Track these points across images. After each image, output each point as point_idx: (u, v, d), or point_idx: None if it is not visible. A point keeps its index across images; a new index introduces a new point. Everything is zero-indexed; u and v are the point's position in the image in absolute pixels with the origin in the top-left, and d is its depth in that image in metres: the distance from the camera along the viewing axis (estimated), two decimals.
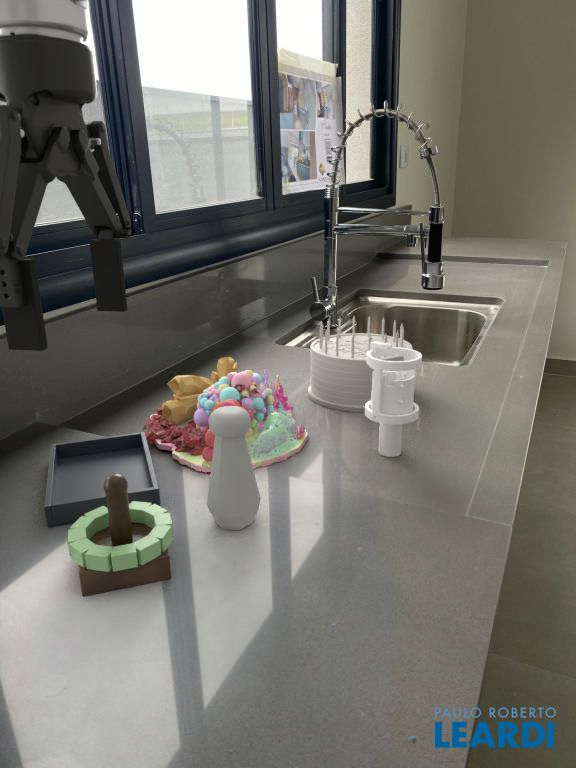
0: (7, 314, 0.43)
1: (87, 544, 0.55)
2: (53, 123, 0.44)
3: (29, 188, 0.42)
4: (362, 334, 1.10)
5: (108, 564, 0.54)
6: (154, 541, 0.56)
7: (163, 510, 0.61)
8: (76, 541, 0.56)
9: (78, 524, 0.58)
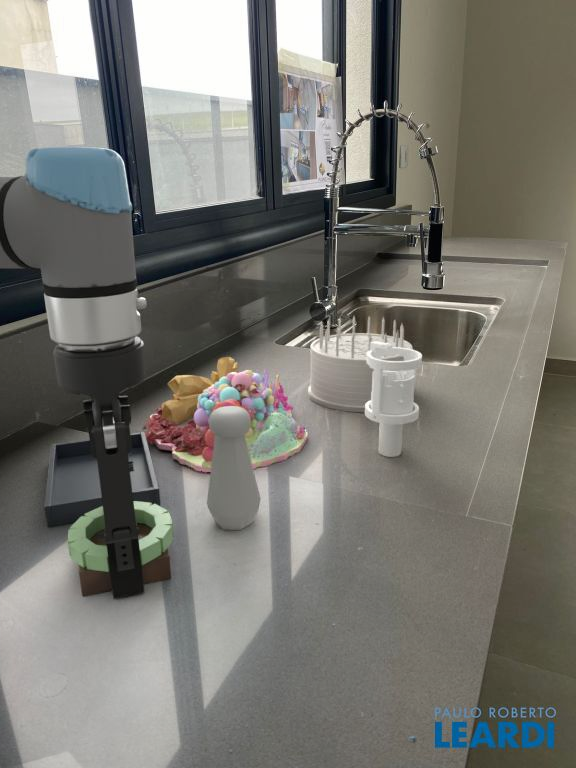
0: (115, 573, 0.53)
1: (87, 544, 0.55)
2: None
3: None
4: (362, 334, 1.10)
5: (108, 564, 0.54)
6: (154, 541, 0.56)
7: (163, 510, 0.61)
8: (77, 541, 0.56)
9: (78, 524, 0.58)
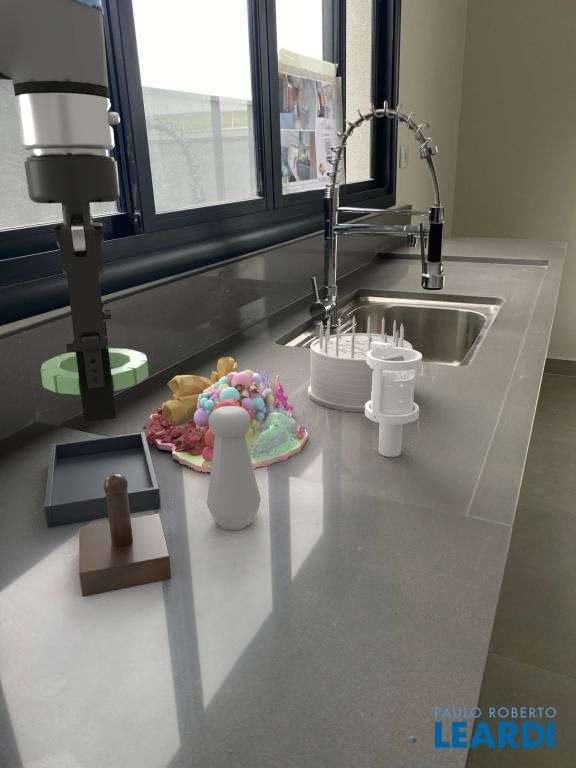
0: (85, 393, 0.53)
1: (59, 371, 0.55)
2: None
3: None
4: (362, 334, 1.10)
5: None
6: (127, 369, 0.55)
7: (139, 353, 0.60)
8: (49, 369, 0.55)
9: (53, 360, 0.58)
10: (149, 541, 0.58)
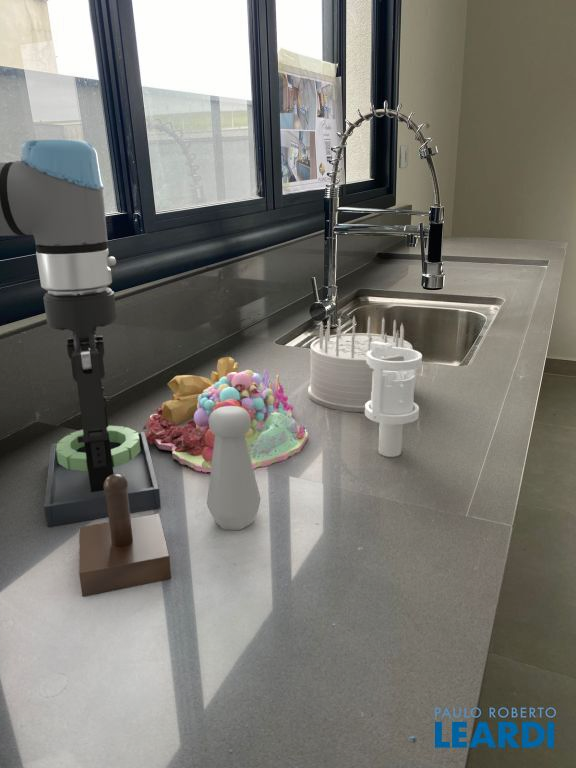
0: (91, 471, 0.68)
1: (71, 451, 0.70)
2: (94, 339, 0.68)
3: None
4: (362, 334, 1.10)
5: None
6: (124, 449, 0.71)
7: (133, 431, 0.76)
8: (63, 449, 0.71)
9: (65, 440, 0.74)
10: (149, 541, 0.58)
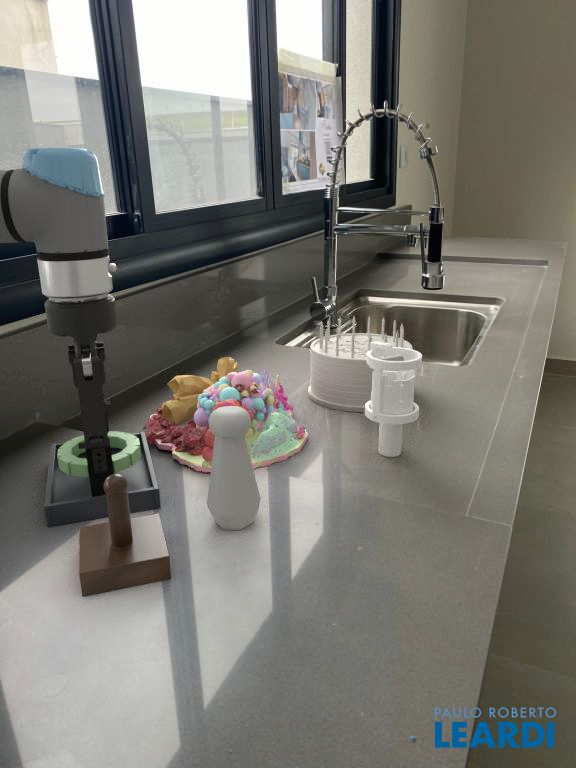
0: (92, 477, 0.69)
1: (72, 457, 0.71)
2: (95, 345, 0.69)
3: None
4: (362, 334, 1.10)
5: None
6: (124, 455, 0.71)
7: (134, 436, 0.76)
8: (64, 455, 0.71)
9: (66, 445, 0.74)
10: (149, 541, 0.58)
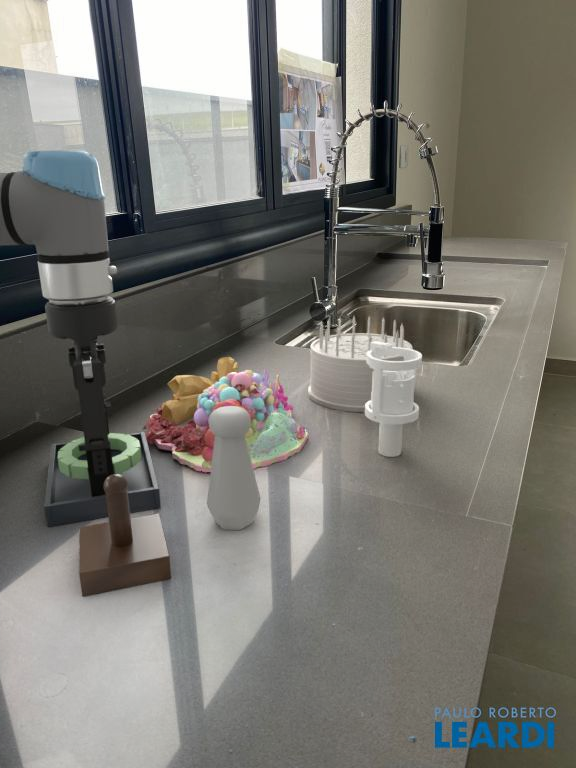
0: (93, 479, 0.69)
1: (72, 459, 0.71)
2: None
3: None
4: (362, 334, 1.10)
5: (88, 473, 0.69)
6: (125, 457, 0.71)
7: (134, 438, 0.76)
8: (64, 457, 0.71)
9: (66, 447, 0.74)
10: (149, 541, 0.58)
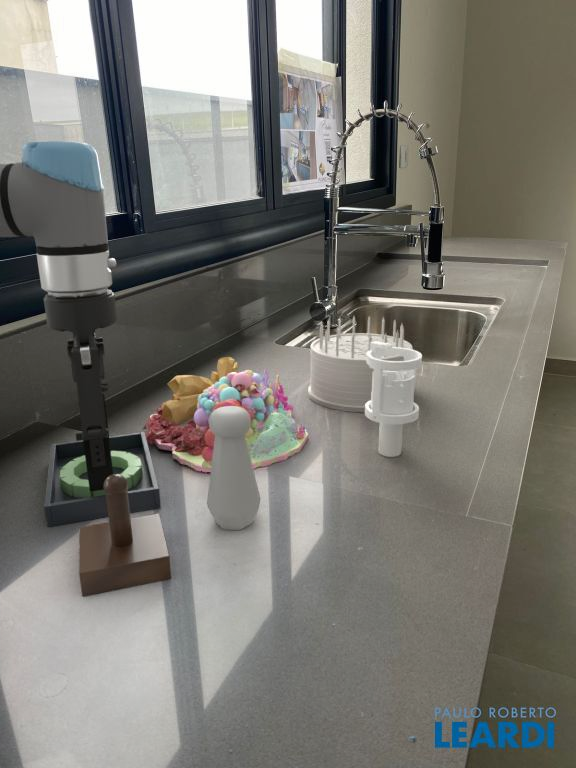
0: (90, 470, 0.67)
1: (74, 479, 0.72)
2: None
3: None
4: (362, 334, 1.10)
5: (90, 492, 0.70)
6: (126, 476, 0.72)
7: (135, 456, 0.77)
8: (66, 476, 0.72)
9: (68, 466, 0.75)
10: (149, 541, 0.58)
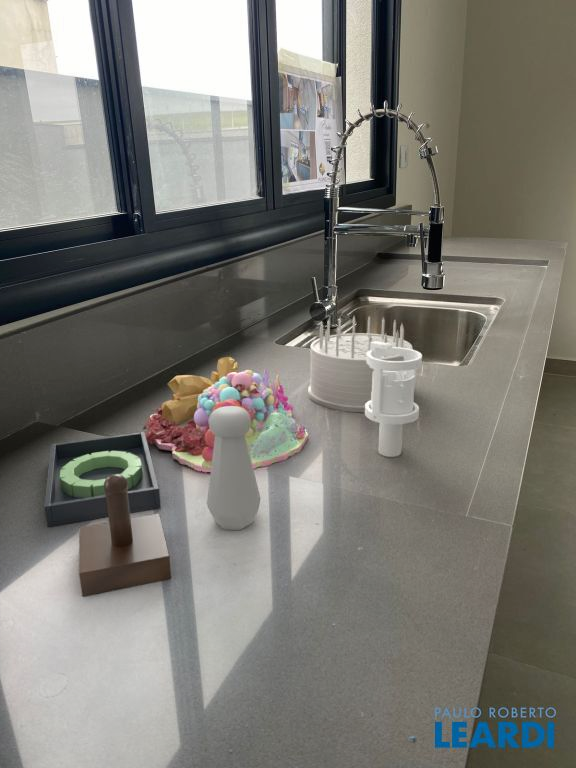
0: None
1: (74, 479, 0.72)
2: None
3: None
4: (362, 334, 1.10)
5: (90, 492, 0.70)
6: (126, 476, 0.72)
7: (135, 456, 0.77)
8: (66, 476, 0.72)
9: (68, 466, 0.75)
10: (149, 541, 0.58)
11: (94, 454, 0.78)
